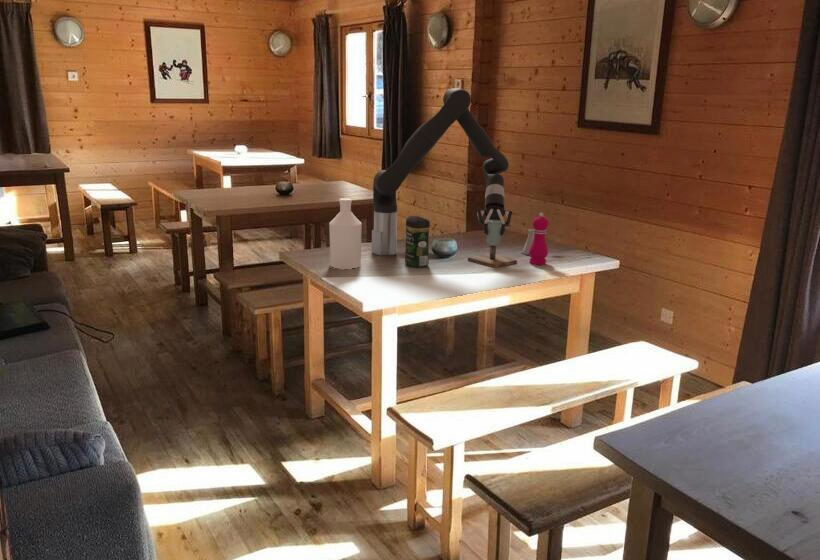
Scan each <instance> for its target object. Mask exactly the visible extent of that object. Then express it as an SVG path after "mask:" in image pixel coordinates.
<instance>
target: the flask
mask: <svg viewBox="0 0 820 560" xmlns="http://www.w3.org/2000/svg"><path fill="white" fill-rule="evenodd" d="M527 232H528V235H527V239H526V242H525V244H524V246H523V249H522V251H521V254H523V255H526V256H530V254H529V250H530V247H531V245H532V243H533V240H534V229H532V228H531V229H528V230H527Z"/></svg>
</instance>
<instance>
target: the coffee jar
mask: <svg viewBox="0 0 820 560" xmlns="http://www.w3.org/2000/svg"><path fill="white" fill-rule="evenodd" d="M430 224H431V223H430V220H429V219H428V218H424V217H421V216H420V215H409V216H408V217H407V218H406V221H405V254H404V262H405V264H407V266H409V267H413V268H424V267H427V266H429V263H430V262H429V258H430V257H429V251H430V250H429V246H430V245H429V242H430V241H429V239H430V238H429V237H430V236H429V234H430V229H431V225H430Z"/></svg>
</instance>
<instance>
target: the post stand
mask: <svg viewBox="0 0 820 560" xmlns="http://www.w3.org/2000/svg"><path fill="white" fill-rule="evenodd" d="M489 247H490V249H489V253H486V254H480V255H475V256H470V257H467V261H468V260H469V262H472V263H475V262H476V264H479V263H480V264H479V265H483V266H486V265H487V267H490V266H491V267H490V268H493V267H495V268H499V266H500V267H503V266H504V265H505V266H508V265H509V264H510V265H514V263H515V264H517V263H518V259H514V258H510V257H506V256H503V255H499V254H496V250H497V245H489Z"/></svg>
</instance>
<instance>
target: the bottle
mask: <svg viewBox="0 0 820 560" xmlns="http://www.w3.org/2000/svg"><path fill="white" fill-rule="evenodd" d="M338 200H339V201H338V202H339V210H340V211H339V212H338V213H337V214H336V216H335V217H334V218H333V219H331V221H329V223H328V224H329V225H328V227H329V229H328V230H329V263H330V264H329V265H330V267H331V266H332V267H335V268H339V269H338V270H344V269H348V270H353V269H352V268H356V269H358V268H357V267H359V268H361V265H362V263H361V262H362V230H363V229H362V227H363V226H362V225H363V224H362V223H363V222H361V221H360V220H359V219H358V218H357V216H355V215H354V213H353V211H352V207H351V206H352V202H353V201H352V200H353V199H352V198H346V197H345V198H344V197H343V198H342V197H340V198H339V199H338ZM332 267H331V268H332ZM335 268H334V269H335Z"/></svg>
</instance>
